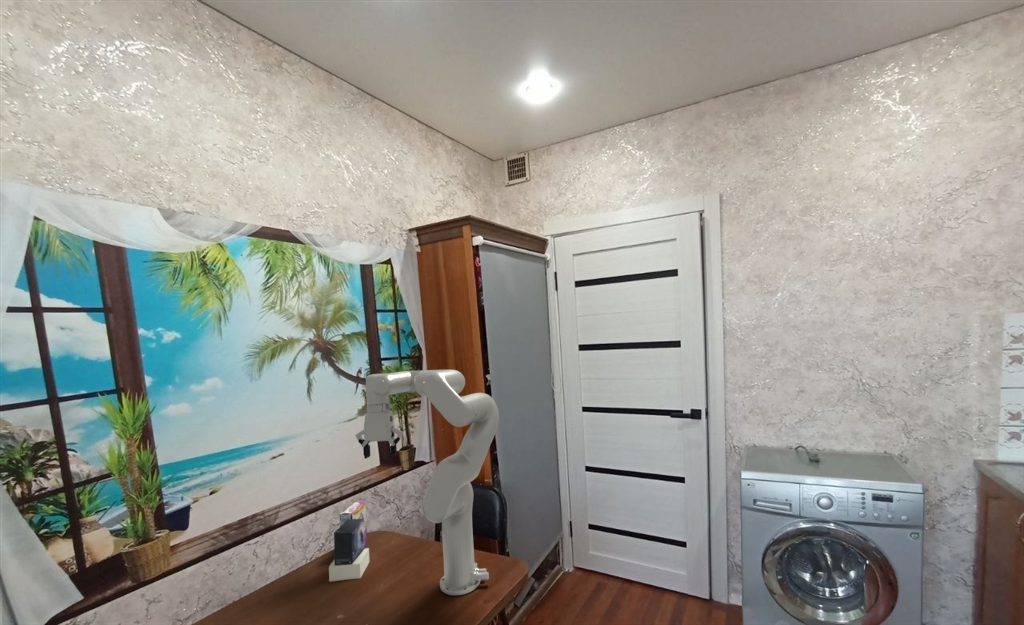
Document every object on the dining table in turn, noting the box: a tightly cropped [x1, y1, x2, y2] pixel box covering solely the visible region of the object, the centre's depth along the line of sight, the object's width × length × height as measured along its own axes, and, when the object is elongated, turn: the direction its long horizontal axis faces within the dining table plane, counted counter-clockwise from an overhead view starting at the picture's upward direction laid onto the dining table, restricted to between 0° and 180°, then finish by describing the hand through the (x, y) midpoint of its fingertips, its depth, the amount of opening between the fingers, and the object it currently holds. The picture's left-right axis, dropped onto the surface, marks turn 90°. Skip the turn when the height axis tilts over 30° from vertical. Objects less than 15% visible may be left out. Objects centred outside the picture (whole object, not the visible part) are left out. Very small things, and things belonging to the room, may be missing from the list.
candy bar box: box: [339, 501, 368, 548], centre depth 148 cm, size 11×5×16 cm, turn 174°
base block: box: [328, 547, 370, 582], centre depth 135 cm, size 10×10×5 cm
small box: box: [333, 519, 366, 565], centre depth 136 cm, size 11×6×10 cm, turn 179°
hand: (380, 456), depth 141 cm, fingers open, 9 cm apart
